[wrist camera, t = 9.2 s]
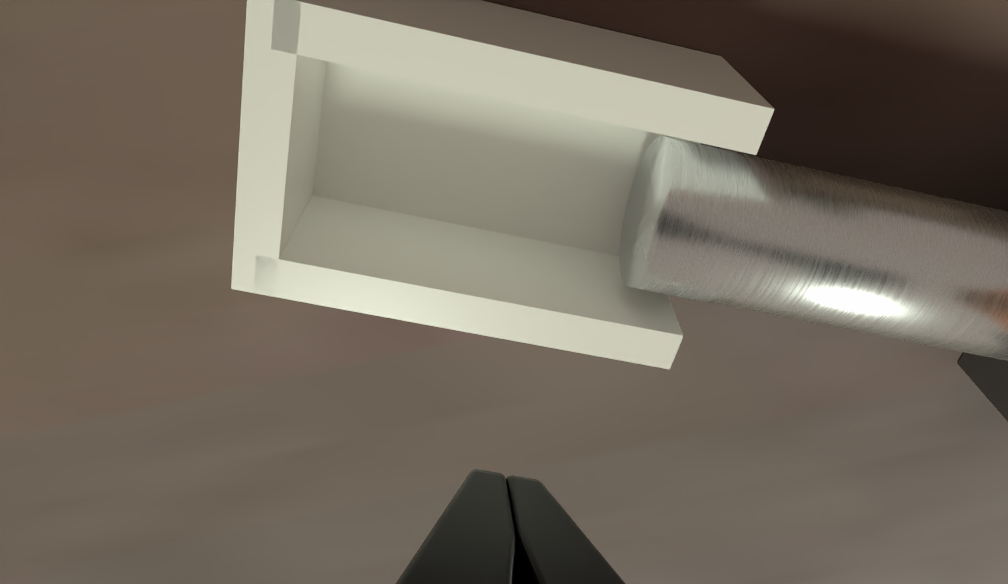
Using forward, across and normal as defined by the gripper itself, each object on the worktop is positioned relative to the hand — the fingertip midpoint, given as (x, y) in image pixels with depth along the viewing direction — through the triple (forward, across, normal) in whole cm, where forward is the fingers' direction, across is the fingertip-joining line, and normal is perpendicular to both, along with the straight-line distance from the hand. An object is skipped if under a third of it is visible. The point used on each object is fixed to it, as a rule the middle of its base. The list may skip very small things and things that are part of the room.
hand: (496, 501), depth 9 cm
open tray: (+13, 0, 0) cm, 13 cm away
